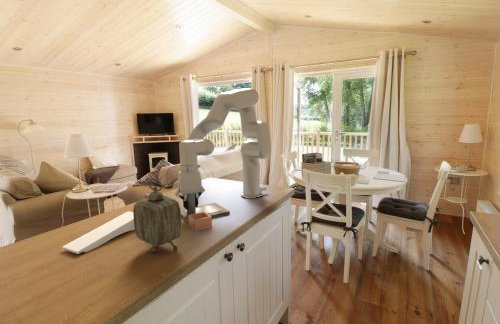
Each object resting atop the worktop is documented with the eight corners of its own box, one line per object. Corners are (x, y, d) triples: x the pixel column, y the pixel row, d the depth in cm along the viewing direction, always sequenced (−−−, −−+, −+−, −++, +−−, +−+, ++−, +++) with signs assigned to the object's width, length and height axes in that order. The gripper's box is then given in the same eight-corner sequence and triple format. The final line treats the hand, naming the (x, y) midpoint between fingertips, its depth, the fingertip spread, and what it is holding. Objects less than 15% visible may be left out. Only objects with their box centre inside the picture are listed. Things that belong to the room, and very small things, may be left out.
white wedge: (82, 270, 93) (144, 229, 117) (80, 253, 90) (145, 215, 114) (62, 258, 96) (127, 221, 120) (60, 241, 93) (127, 206, 117)
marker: (193, 210, 128) (192, 189, 127) (197, 213, 125) (196, 191, 123) (185, 212, 126) (184, 191, 124) (188, 214, 123) (187, 193, 121)
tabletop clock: (183, 249, 94) (179, 178, 90) (161, 261, 87) (156, 184, 83) (156, 239, 102) (151, 173, 98) (134, 249, 95) (128, 178, 91)
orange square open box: (204, 221, 119) (204, 211, 119) (211, 227, 113) (211, 216, 113) (188, 225, 116) (188, 215, 115) (195, 231, 110) (194, 220, 109)
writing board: (215, 205, 141) (215, 202, 140) (229, 214, 128) (229, 210, 128) (177, 213, 130) (177, 209, 130) (188, 223, 117) (188, 219, 117)
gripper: (203, 165, 130) (204, 202, 133) (167, 169, 121) (170, 208, 124) (209, 167, 124) (211, 206, 127) (173, 171, 115) (175, 213, 118)
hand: (191, 207), depth 125 cm, fingers closed on marker, 4 cm apart
